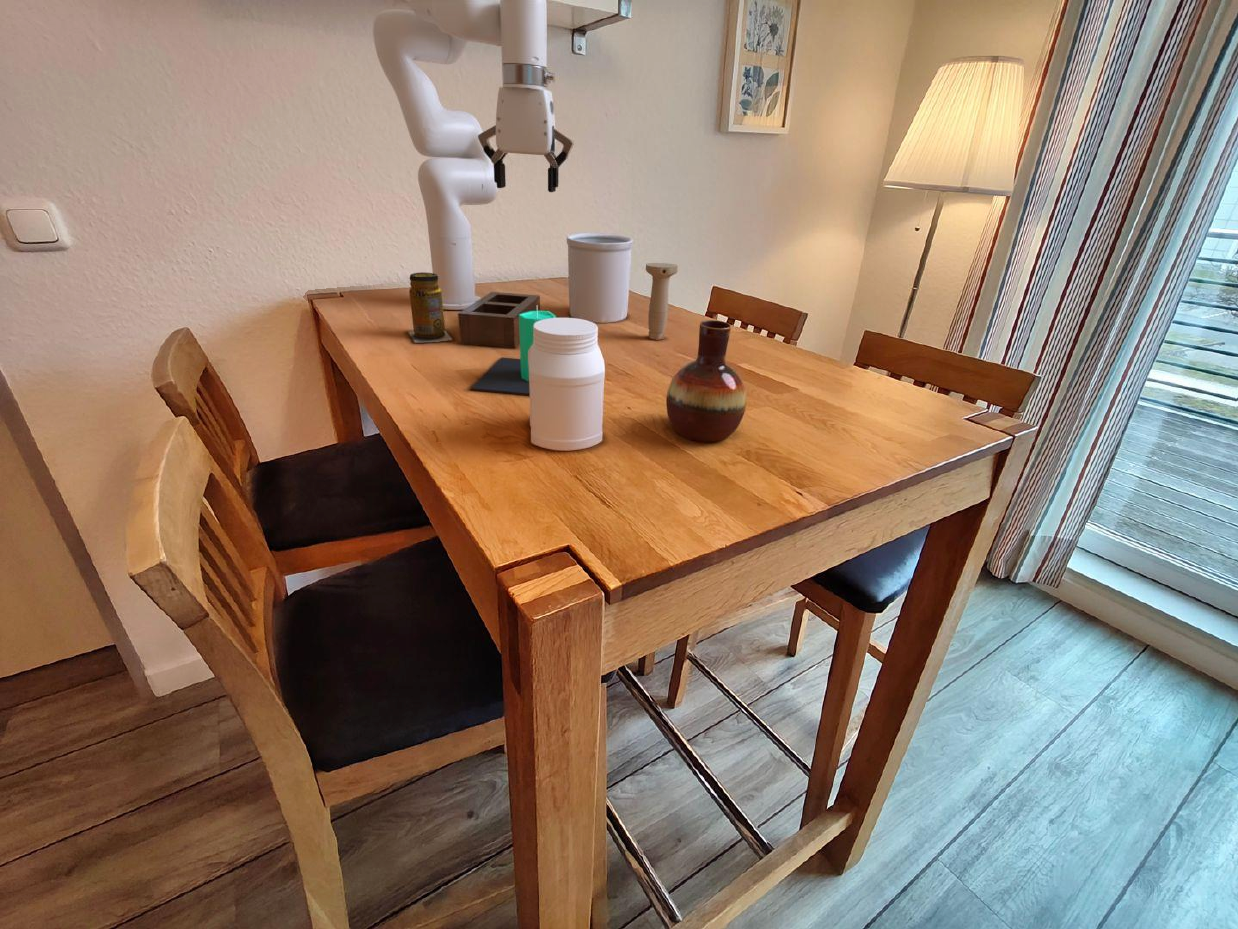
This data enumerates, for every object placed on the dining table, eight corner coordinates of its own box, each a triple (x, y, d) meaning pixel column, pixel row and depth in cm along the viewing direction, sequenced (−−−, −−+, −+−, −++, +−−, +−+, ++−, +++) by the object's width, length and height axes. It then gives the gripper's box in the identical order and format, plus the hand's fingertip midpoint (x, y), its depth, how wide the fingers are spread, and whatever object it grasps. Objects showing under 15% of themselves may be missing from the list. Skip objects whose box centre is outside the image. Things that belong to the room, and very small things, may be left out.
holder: (460, 343, 115) (457, 313, 112) (492, 318, 132) (491, 291, 129) (514, 348, 114) (513, 317, 111) (540, 322, 131) (539, 295, 128)
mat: (470, 390, 94) (470, 387, 93) (501, 359, 108) (501, 357, 107) (581, 400, 92) (581, 398, 92) (597, 367, 106) (597, 365, 106)
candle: (527, 384, 96) (525, 310, 90) (515, 372, 101) (513, 302, 95) (561, 379, 99) (561, 308, 93) (548, 368, 103) (547, 299, 98)
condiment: (444, 329, 123) (438, 270, 117) (452, 340, 116) (447, 278, 111) (408, 332, 120) (400, 271, 114) (414, 344, 113) (406, 280, 108)
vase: (651, 419, 87) (659, 315, 79) (716, 411, 90) (730, 311, 83) (684, 452, 78) (697, 338, 70) (756, 442, 81) (775, 333, 74)
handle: (673, 341, 123) (680, 267, 116) (643, 341, 122) (648, 266, 115) (668, 335, 127) (674, 263, 120) (639, 335, 126) (643, 262, 119)
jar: (605, 450, 77) (609, 338, 70) (531, 452, 76) (528, 338, 69) (594, 414, 87) (597, 314, 80) (529, 416, 86) (526, 314, 79)
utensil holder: (617, 327, 131) (621, 244, 122) (556, 318, 135) (556, 238, 126) (637, 312, 143) (641, 236, 135) (580, 305, 147) (581, 231, 139)
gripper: (578, 84, 102) (576, 191, 111) (483, 78, 104) (488, 184, 112) (569, 80, 96) (567, 194, 104) (468, 74, 98) (474, 187, 106)
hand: (526, 189), depth 108 cm, fingers open, 9 cm apart
